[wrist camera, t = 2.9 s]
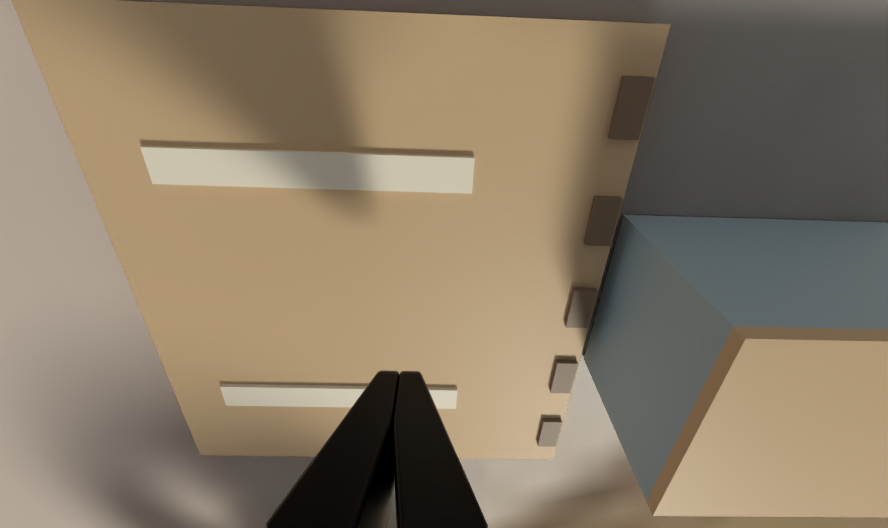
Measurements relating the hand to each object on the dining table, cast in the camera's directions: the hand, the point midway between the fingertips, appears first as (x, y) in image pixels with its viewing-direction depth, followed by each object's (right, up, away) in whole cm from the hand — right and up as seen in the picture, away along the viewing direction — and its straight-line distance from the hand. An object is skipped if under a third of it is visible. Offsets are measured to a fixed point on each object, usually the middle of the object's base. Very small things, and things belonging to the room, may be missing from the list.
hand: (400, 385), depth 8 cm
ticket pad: (-1, +2, +3) cm, 4 cm away
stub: (+9, +1, +3) cm, 9 cm away
